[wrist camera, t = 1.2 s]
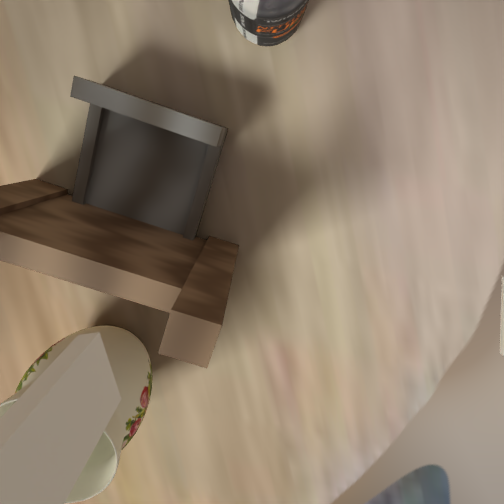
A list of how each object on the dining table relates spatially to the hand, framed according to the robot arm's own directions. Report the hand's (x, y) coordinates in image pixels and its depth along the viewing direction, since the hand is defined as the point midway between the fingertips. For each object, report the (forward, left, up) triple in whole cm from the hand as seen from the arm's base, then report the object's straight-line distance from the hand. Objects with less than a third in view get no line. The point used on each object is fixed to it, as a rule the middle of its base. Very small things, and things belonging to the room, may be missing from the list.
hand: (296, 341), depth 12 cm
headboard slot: (-12, -1, -24) cm, 27 cm away
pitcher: (-11, -22, -24) cm, 34 cm away
